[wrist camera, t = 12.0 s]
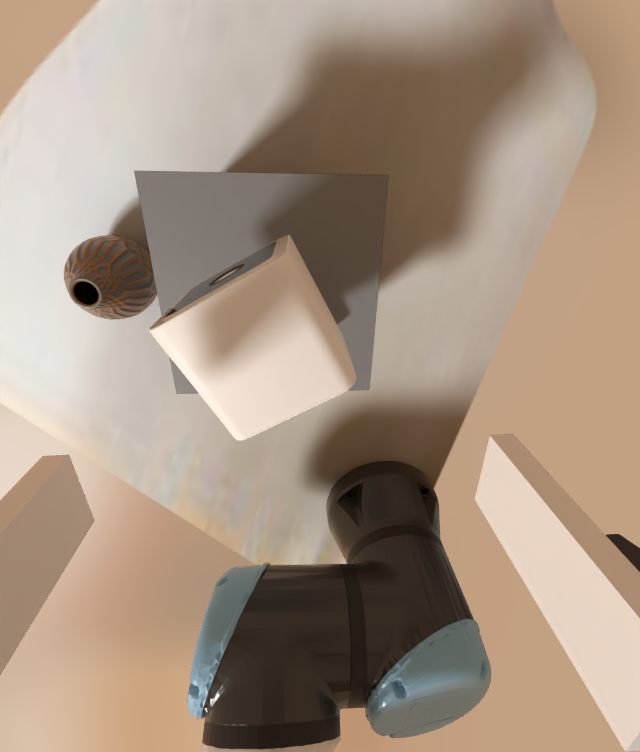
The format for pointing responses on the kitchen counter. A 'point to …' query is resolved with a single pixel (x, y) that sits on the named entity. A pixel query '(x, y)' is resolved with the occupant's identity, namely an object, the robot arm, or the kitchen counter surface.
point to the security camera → (258, 341)
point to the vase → (110, 277)
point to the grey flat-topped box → (271, 239)
